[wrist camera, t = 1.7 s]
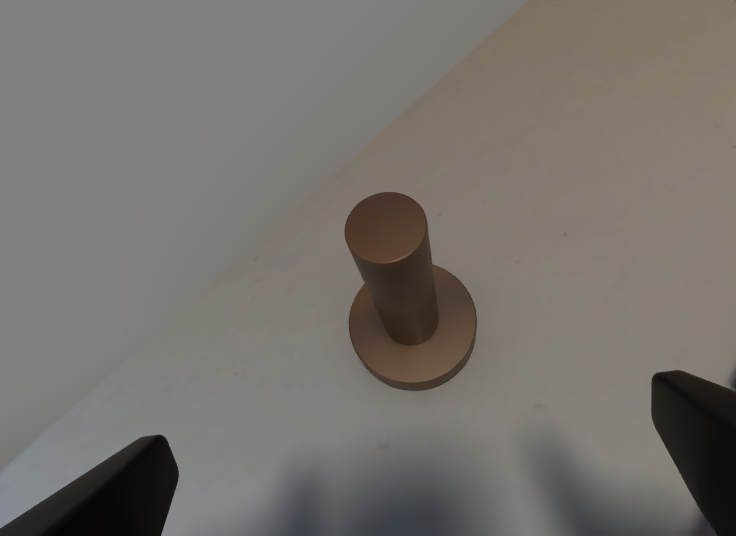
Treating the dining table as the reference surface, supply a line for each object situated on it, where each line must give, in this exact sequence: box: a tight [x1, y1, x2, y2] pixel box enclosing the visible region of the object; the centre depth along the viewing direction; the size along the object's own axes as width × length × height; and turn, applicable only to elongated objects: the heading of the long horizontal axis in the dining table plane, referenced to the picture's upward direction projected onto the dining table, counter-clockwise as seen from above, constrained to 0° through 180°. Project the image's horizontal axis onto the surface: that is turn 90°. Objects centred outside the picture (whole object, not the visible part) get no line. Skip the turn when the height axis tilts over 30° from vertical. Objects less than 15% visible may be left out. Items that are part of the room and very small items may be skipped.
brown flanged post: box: [345, 192, 477, 390], centre depth 18 cm, size 6×6×10 cm
